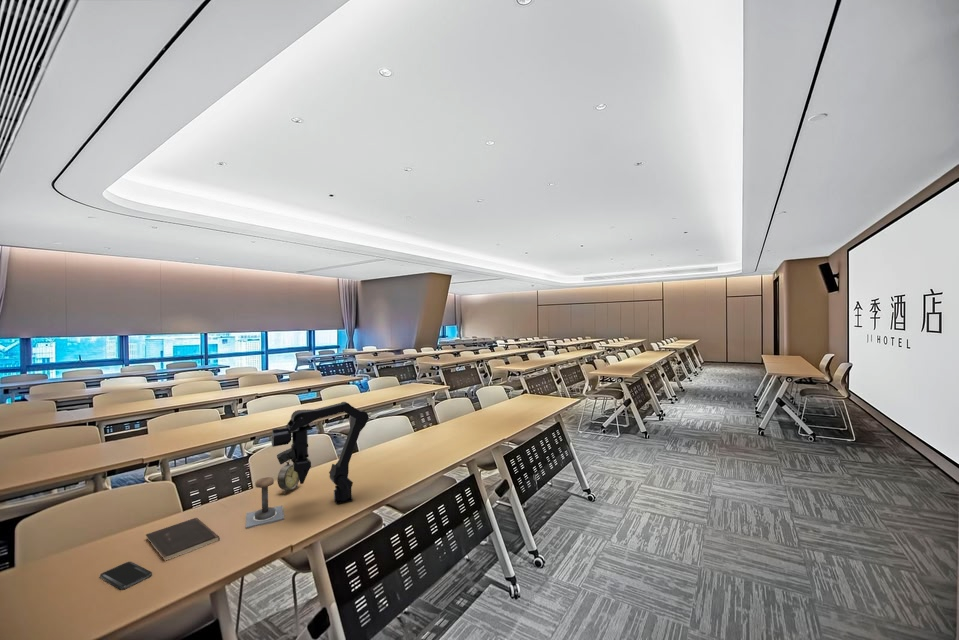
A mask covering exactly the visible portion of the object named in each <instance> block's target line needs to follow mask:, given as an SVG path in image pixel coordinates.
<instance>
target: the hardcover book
mask: <svg viewBox="0 0 959 640" xmlns="http://www.w3.org/2000/svg"><path fill="white" fill-rule="evenodd" d="M145 536H146V537H147V540H148V541H150V542H151V543H150V542H149V543H150V544H151V545H152V547H153V548H154V549H155V550H156V551H157V552H159V553H158V554H159V555H160V556H161V558H162V557H163V558H162V559H163V560H164V561H165V562H167V561H169V560H168V559H170V560H172V559H175V558H177V557H180V556H182V555H185V554H187V553H190V552H193V551H196V550H197V549H200V548H203V547H206V546H207V544H208V545H211V544H212V542H213V543H215V541H216V542H218V541H220V536H219V535H218V534H217V533H215V531H213V530H212V529H211V528H209V527H208V525H206V524H205V523H204V522H203V521H201V519H200V518H198V517H193V518H191V519H188V520H185V521H182V522H179V523H175V524H173V525H170V526H167V527H164V528H162V529H158V530H155V531H153V532H149V533H146V534H145ZM217 540H218V541H217ZM210 543H211V544H210ZM179 555H180V556H179ZM174 557H175V558H174ZM171 558H172V559H171ZM166 560H167V561H166Z"/></svg>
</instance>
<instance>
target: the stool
mask: <svg viewBox="0 0 959 640" xmlns="http://www.w3.org/2000/svg"><path fill="white" fill-rule="evenodd" d="M274 479H275V478H274V477H270V476H269V477H262V478H259V479H257V480H255V488H258V489H261V508H260V509H258V510H255V511H256V512H255V519H256V520H265V519H268V518H271V517H273V516H274V515H275V508H272V507H271V506H270V507H269V487H270V486H272V485H274V482H275V481H274Z"/></svg>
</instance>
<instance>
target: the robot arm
mask: <svg viewBox="0 0 959 640" xmlns="http://www.w3.org/2000/svg"><path fill="white" fill-rule="evenodd" d="M342 413H345V414H347V415H348V416H350V421H349V431H348V433H347V436H346V439H345V442H344V445H343V448H342V450H341V453H340V456H339V458H338V461H337V462H336V463H331V468H330V471H329V472H328V474H329V479H330V481H331V482H332V483H333V484H334V485H335V486H334V488H335V489H334V490H333V500H334V502H335V503H336V504H337V505H340V504H345V503H349V502H352V501H354V500H353V498H352V497H353V496H352V488H353V484H354V482H353V481H352V480H351V479H350V478H349V471H350V470H349V468H350V467H349V465H350V462H351V458H352V457H353V456H352V455H353V453H354V450H355V447H356V445H357V442H358V438H359V436H360V434H361V432H362V431H363V429H364V428H365V427H366V425H367V423H368V421H369V417H370V416H369V414H368V413H367V411H364V410H363V409H360V408H356V407H354V406H352V405H351V404H350V403H348V402H347V401H342V402H339V403H336V404H330V405H327V406H323V407H318V408H314V409H313V408H312V409H297V410H295V411H293V412H292V414H291V416H290V420H289V421H288V422H287V424H286V425H285V427H280V428H272V431H271V436H270V442H271V447H272V448H275V447H279V446H284V445H285V446H286V445H289V443H291V442H292V443H291V444H290V445H291V446H290V448H288V449H286V450H284V451H282V452H280V453H277V454H276V458H277V460H278V462H279V465H283V464H284V463H286V462H289V460H290V462H292V464H293V469H294V471H296V472H297V473H298V477H299V484H300V485H303V484H304V483H305V480H306V478H307V476H308V475H309V474H308V473H309V471H310V469H311V468H312V462H311V459H310V458H309V443H308V441H309V439H308V438H309V437H308V436H309V435H308V434H309V433H308V431H312V430H313V429H314V428H313V427H312V426H311V425H310V424H311V423H313V422H314V421H316V420H319V419H323V418H326V417H329V416H335V415H339V414H342Z"/></svg>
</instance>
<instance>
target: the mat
mask: <svg viewBox="0 0 959 640" xmlns="http://www.w3.org/2000/svg"><path fill="white" fill-rule="evenodd" d="M272 508H275V515H274V516H273V517H271V518H268V519H265V520H256V519H255V512H256V511H257V510H255V511H254V510H253V511H250V512H246V515H245V516H246V520H245V529H251V528H255V527H259V526H264V525H267V524H271V523H272V524H273V523H276V522H280V521H284V520H285V514H284V508H283V505H278V506H274V507H272Z"/></svg>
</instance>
